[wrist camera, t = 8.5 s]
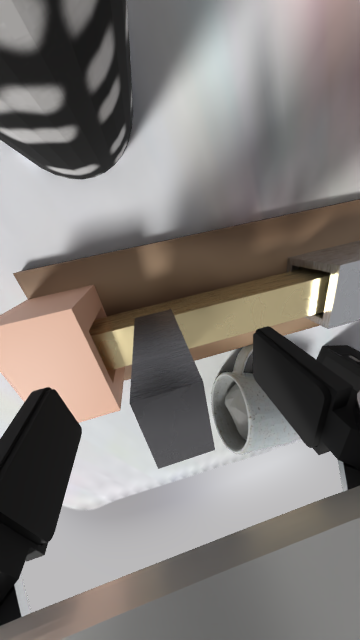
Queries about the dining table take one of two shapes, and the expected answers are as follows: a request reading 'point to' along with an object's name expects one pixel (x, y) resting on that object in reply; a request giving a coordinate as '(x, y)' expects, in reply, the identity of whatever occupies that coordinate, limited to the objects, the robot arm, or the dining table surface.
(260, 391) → the ceramic mug
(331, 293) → the metal sleeve
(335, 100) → the dining table surface
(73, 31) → the spotted tube
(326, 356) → the digital camera
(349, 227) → the walnut board
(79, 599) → the robot arm
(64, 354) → the terracotta socket
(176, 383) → the hammer
